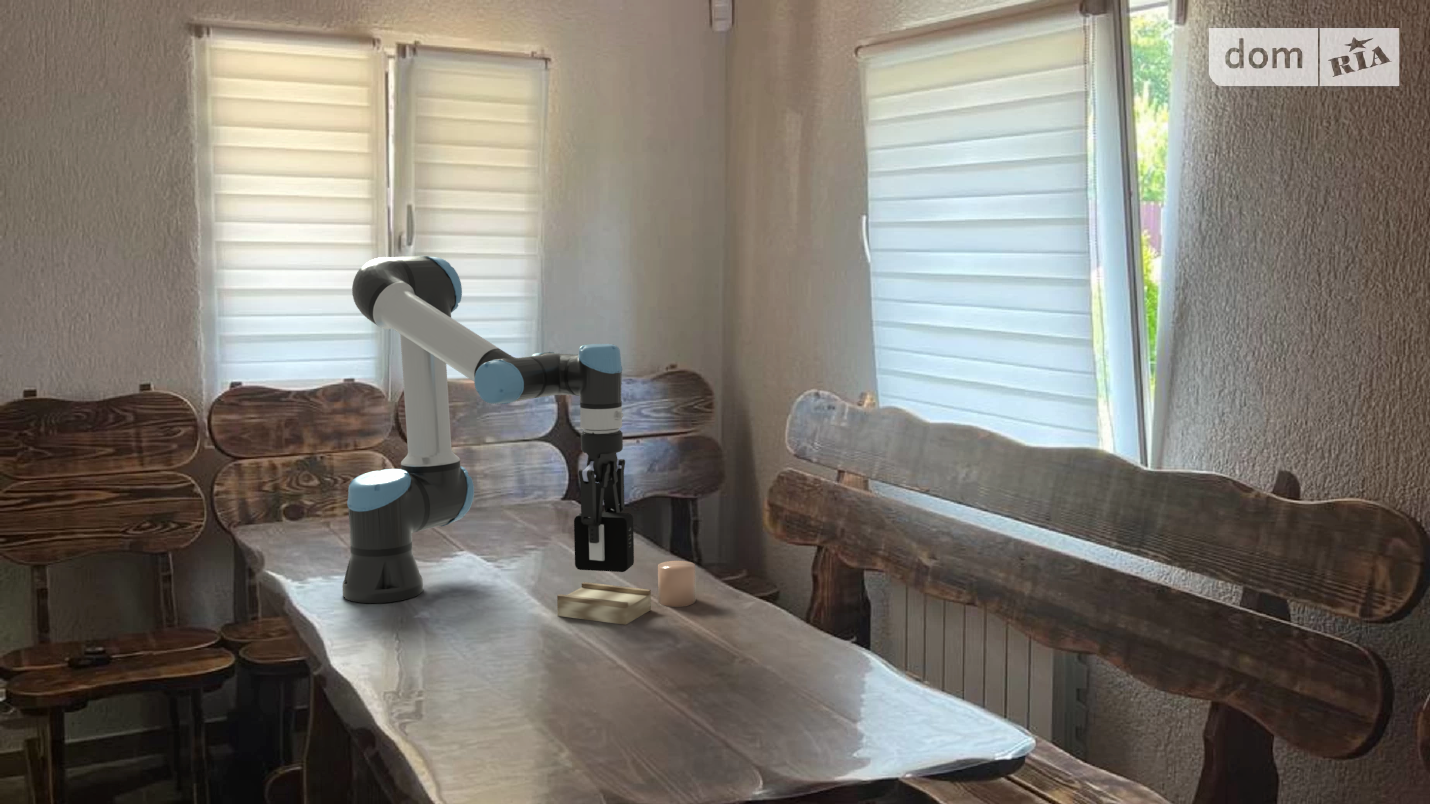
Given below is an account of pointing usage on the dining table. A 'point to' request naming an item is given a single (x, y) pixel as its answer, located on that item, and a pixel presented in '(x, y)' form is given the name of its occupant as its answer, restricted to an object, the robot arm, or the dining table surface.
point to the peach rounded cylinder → (676, 583)
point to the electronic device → (606, 543)
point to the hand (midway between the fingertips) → (604, 556)
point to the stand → (605, 603)
